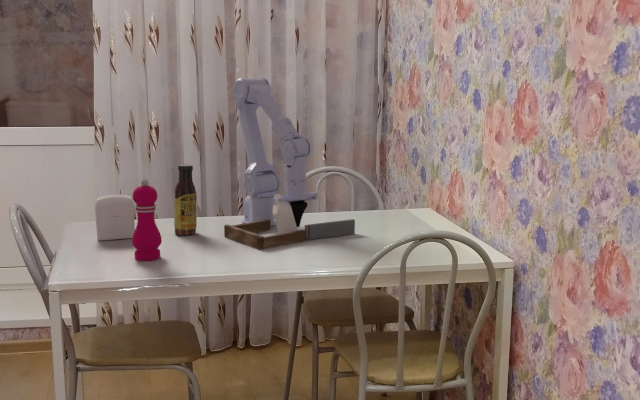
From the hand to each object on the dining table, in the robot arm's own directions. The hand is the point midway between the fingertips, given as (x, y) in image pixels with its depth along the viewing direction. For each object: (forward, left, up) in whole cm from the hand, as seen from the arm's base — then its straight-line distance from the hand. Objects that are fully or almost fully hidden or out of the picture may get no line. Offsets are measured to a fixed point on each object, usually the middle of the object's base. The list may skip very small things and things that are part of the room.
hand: (295, 226), depth 203 cm
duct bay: (0, -11, -2) cm, 11 cm away
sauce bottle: (-19, -25, -2) cm, 32 cm away
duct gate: (+10, +5, -2) cm, 11 cm away
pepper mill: (-3, -45, -2) cm, 45 cm away
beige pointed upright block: (0, -3, -1) cm, 3 cm away
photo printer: (-26, -43, -2) cm, 50 cm away
